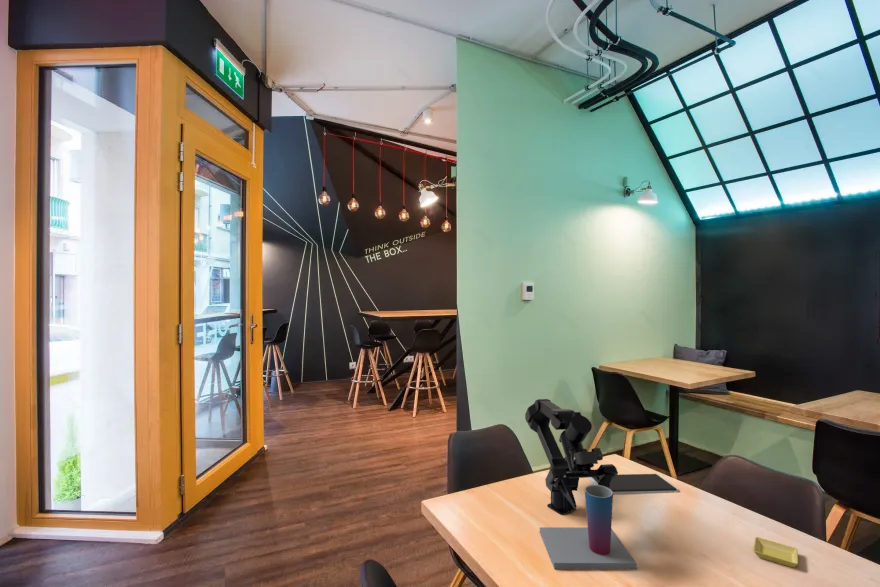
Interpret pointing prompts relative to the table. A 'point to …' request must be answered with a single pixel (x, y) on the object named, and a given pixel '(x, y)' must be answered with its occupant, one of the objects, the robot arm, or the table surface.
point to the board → (583, 550)
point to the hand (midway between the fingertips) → (592, 506)
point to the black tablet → (638, 484)
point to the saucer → (776, 552)
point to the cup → (599, 517)
